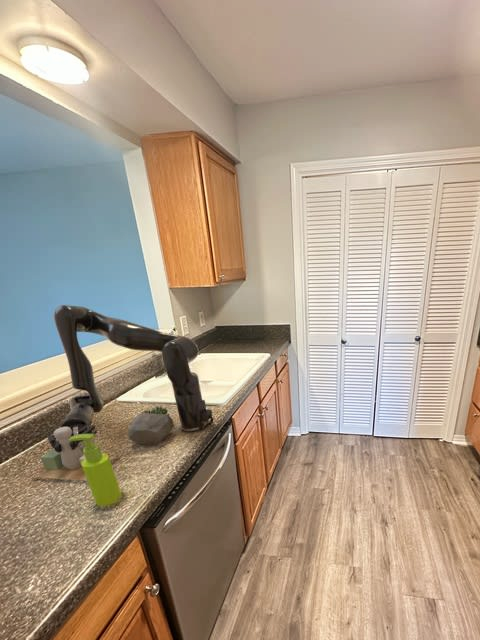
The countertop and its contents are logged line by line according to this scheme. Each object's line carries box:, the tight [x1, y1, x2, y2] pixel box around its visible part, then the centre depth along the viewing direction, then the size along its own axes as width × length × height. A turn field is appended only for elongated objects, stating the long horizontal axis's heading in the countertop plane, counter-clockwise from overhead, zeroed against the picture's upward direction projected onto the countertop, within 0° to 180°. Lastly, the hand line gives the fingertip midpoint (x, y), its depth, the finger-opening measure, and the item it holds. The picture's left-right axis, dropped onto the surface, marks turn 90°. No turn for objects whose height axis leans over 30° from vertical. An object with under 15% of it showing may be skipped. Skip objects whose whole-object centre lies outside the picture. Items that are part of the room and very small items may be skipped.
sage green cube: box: [40, 448, 64, 470], centre depth 99 cm, size 4×4×4 cm
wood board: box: [34, 455, 116, 481], centre depth 99 cm, size 18×12×1 cm, turn 82°
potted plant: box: [128, 405, 175, 446], centre depth 113 cm, size 12×13×15 cm
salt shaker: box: [53, 426, 84, 470], centre depth 97 cm, size 6×6×13 cm
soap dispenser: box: [68, 434, 122, 508], centre depth 81 cm, size 6×7×20 cm
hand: (65, 448), depth 94 cm, fingers closed on salt shaker, 3 cm apart
